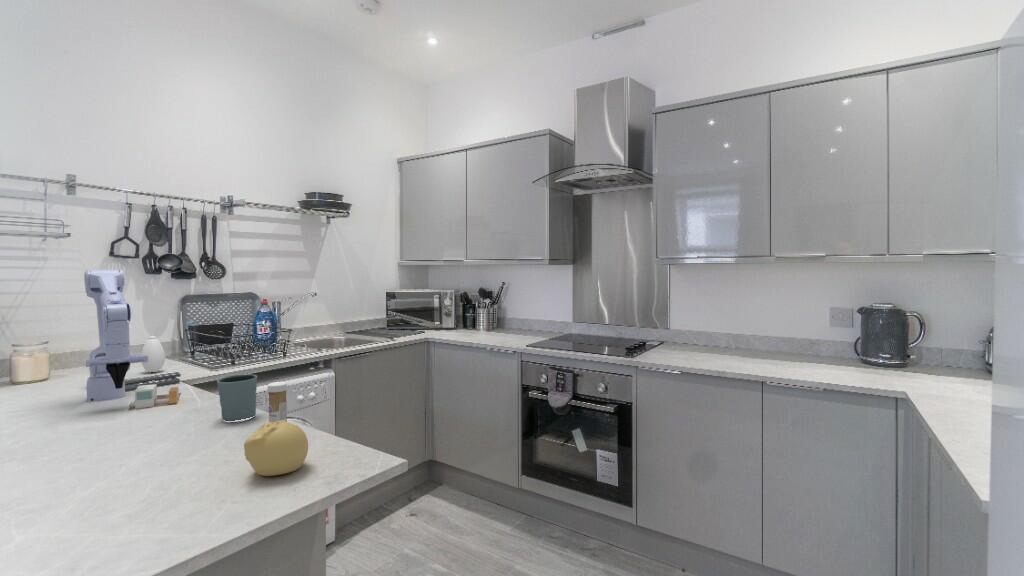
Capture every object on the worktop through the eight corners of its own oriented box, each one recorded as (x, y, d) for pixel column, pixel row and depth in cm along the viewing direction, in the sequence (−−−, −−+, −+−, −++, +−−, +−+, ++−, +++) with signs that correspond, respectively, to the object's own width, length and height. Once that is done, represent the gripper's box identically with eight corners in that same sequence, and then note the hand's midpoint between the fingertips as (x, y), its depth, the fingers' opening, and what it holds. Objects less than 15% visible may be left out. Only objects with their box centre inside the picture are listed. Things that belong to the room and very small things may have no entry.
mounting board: (128, 415, 142) (127, 410, 142) (137, 402, 156) (136, 397, 156) (176, 409, 148) (176, 404, 148) (181, 397, 162) (181, 392, 162)
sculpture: (265, 459, 109) (264, 413, 109) (317, 460, 109) (316, 413, 108) (235, 482, 98) (233, 430, 97) (292, 482, 97) (291, 431, 97)
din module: (135, 408, 143) (134, 391, 143) (139, 403, 150) (138, 385, 149) (153, 406, 146) (153, 389, 146) (157, 401, 152) (156, 384, 152)
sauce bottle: (155, 374, 196) (154, 331, 196) (137, 374, 197) (135, 331, 196) (169, 370, 204) (168, 329, 203) (151, 370, 204) (150, 329, 204)
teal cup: (265, 415, 142) (264, 375, 141) (233, 425, 133) (232, 383, 132) (243, 411, 146) (242, 372, 145) (210, 421, 137) (209, 379, 136)
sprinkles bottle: (264, 434, 125) (263, 384, 125) (279, 429, 130) (277, 380, 129) (277, 437, 124) (276, 386, 123) (291, 431, 128) (290, 382, 127)
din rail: (128, 409, 143) (128, 396, 143) (132, 404, 148) (131, 391, 148) (176, 403, 149) (176, 390, 149) (178, 399, 154) (178, 386, 154)
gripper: (82, 347, 136) (84, 394, 137) (145, 343, 144) (147, 387, 144) (88, 344, 142) (90, 388, 143) (148, 340, 150) (150, 382, 150)
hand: (119, 387), depth 144 cm, fingers closed
